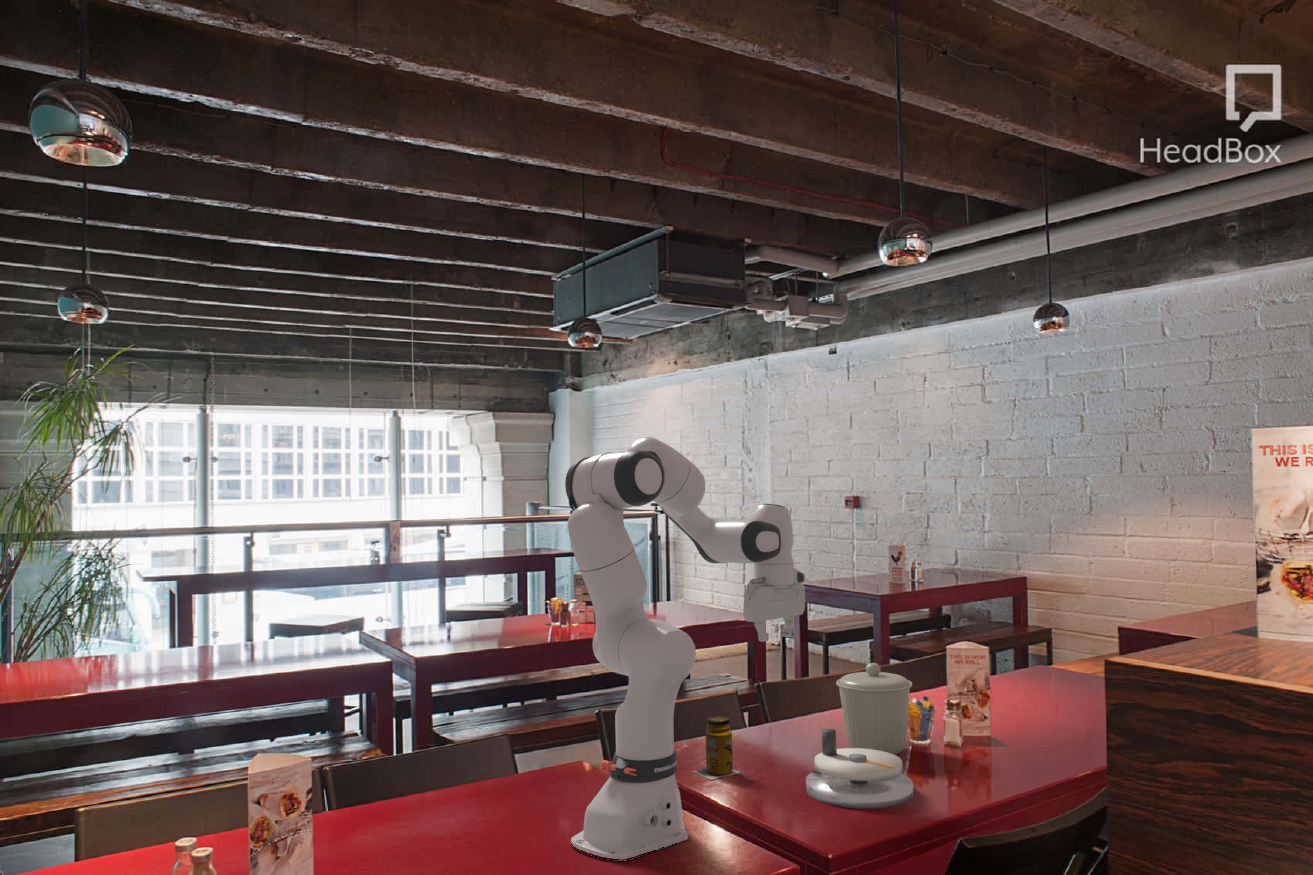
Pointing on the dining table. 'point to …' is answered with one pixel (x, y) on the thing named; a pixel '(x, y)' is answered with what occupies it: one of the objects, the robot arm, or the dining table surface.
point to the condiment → (718, 749)
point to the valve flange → (860, 791)
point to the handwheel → (855, 761)
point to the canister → (875, 709)
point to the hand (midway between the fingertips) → (775, 638)
